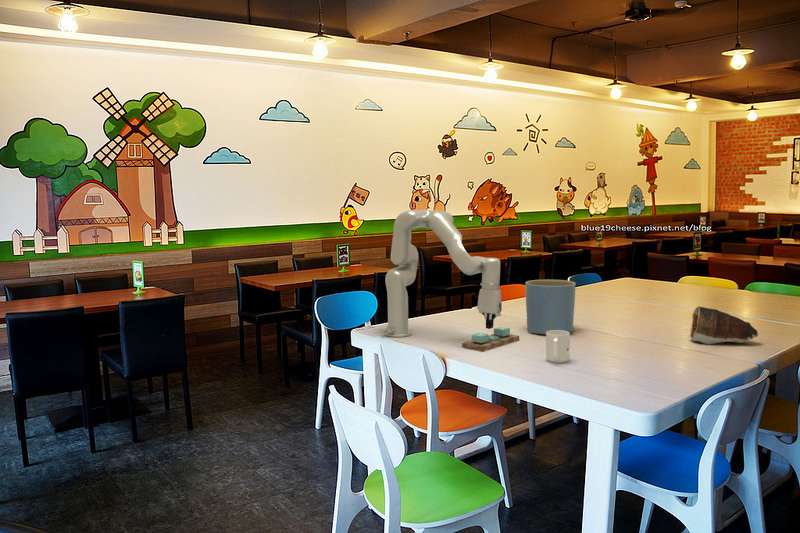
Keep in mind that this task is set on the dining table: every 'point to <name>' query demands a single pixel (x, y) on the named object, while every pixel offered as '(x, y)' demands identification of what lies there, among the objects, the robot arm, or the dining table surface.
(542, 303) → the planter
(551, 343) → the mug
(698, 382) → the dining table surface
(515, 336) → the board
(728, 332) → the brown wedge
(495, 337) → the tile two
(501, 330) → the tile three
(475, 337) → the tile one
